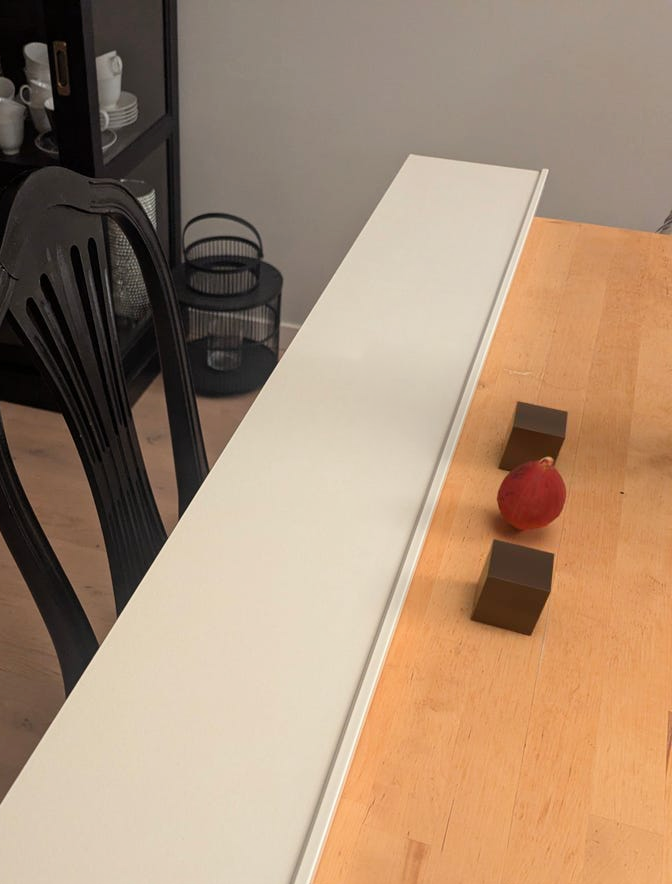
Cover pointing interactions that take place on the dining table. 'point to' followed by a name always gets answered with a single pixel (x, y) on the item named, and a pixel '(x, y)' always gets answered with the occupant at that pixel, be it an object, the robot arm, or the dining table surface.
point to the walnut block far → (533, 435)
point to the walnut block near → (513, 587)
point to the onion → (532, 495)
